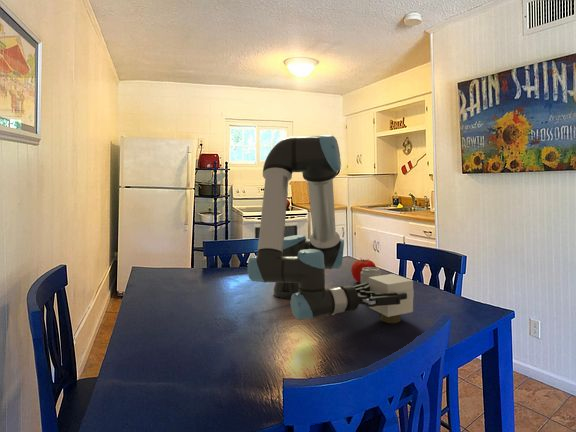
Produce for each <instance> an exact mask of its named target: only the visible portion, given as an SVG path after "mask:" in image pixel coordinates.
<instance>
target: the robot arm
mask: <svg viewBox="0 0 576 432" xmlns="http://www.w3.org/2000/svg"><path fill="white" fill-rule="evenodd" d="M341 169H342V161H341V153H340V147H339V144H338V140H337V138H336V137H335V136H334V135H324V134H320V135H305V136H288V137H286V138H283V139H281V140H280V141H279V142H277V143H276V145H274V146H273V147H272V149H271V150H270V152H269V153H268V155H267V157H266V158H265V161H264V164H263V168H262V177H263V179H264V188H263V198H262V208H261V217H260V225H259V235H258V243H257V255H252V256H250V257H249V259H248V262H247V276H248V279H249V280H251V281H252V282H258V283H259V282H260V283H264V284H266V283H274V286H273V295H274V296H275V297H276V296H277V297H276V298H279V297H280V299H284V298H285V299H284V300H290V301H289V302H290V309H291V313H292V315H293V317H295V318H296V319H297V320H307V319H310V320H311V319H315V318H320V317H324V316H329V315H332V316H335V314H339V313H341V314H342V313H347V312H351V311H356V310H357V309H358V307H359V306H360V305H367V304H368V308H369V307H374V306H382V305H398V304H400V301H401V300H406V299H412V298H413V299H414V297H415V296H414V293H415V291H414V290H415V289H414V288H413V289H409V290H403V291H397V292H395V293H388V294H387V293H374V292H373V291H370V286H369V283H368V282H366V283H363V284H361V283H360V284H357V285H350V284H348V285H341V286H333V287H328V288H327V287H326V284H325V282H326V279H325V277H326V276H325V275H326V274H325V273H326V272H325V270H335V269H336V270H338V269H340V268H341V267H342V265H343V258H344V257H343V256H344V249H345V247H344V246H345V240H344V239H343V238H341V236H340V234H339V233H338V232H337V230H336V218H335V217H336V216H335V215H336V214H335V199H334V198H335V197H334V196H335V195H334V179H335V178H336V177H337V175H338V172H339V171H340V170H341ZM293 173H301V174H302V178H303V180H305V181H306V182H307V187H308V196H309V197H308V198H309V208H310V216H311V226H312V227H311V229H312V234H311V235H310V236H309V238H307V236H306V235H305V234H295V235H288V236H285V230H286V229H285V227H286V217H287V216H286V215H287V203H288V202H287V201H288V190H289V189H288V188H289V181H291V180H292V178H293V177H292V176H293ZM325 287H326V288H325ZM371 294H372V297H371Z"/></svg>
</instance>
